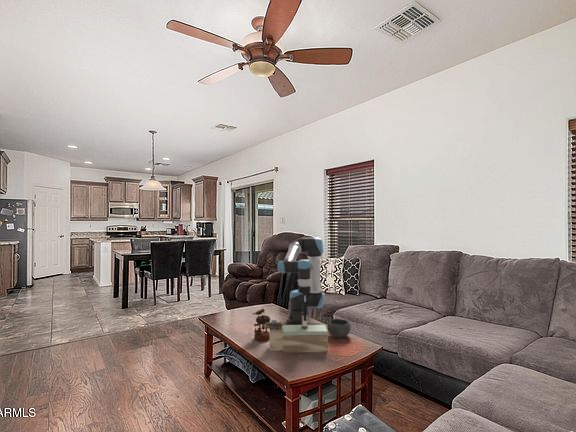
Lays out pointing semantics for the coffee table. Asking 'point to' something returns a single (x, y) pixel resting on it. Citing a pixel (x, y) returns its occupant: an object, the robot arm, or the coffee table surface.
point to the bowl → (338, 328)
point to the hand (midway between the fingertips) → (304, 324)
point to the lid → (304, 329)
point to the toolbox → (296, 341)
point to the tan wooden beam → (268, 325)
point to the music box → (259, 334)
